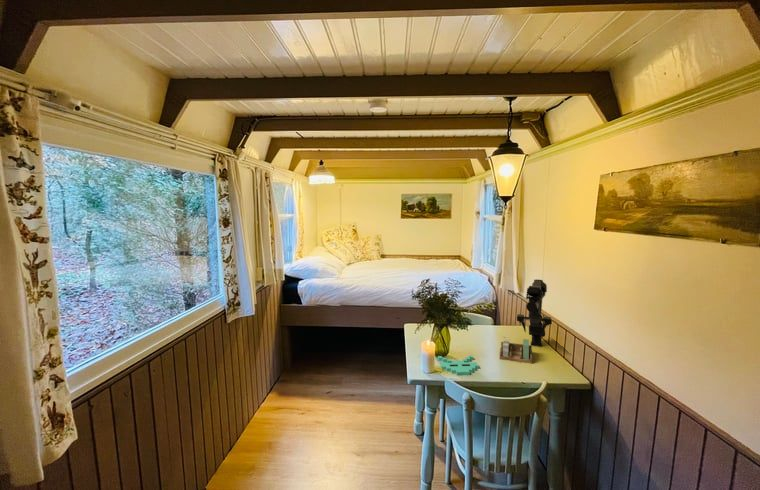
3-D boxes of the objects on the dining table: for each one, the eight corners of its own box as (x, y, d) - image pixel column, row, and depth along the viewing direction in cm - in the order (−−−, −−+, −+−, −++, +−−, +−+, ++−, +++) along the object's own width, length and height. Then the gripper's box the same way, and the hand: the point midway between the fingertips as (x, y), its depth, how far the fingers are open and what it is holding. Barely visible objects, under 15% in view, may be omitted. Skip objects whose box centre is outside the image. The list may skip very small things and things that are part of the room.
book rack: (501, 349, 206) (501, 337, 205) (531, 353, 199) (531, 340, 198) (499, 359, 193) (499, 345, 192) (531, 363, 186) (532, 349, 185)
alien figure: (437, 359, 195) (444, 376, 176) (437, 356, 195) (444, 372, 175) (472, 359, 195) (482, 375, 175) (472, 355, 195) (482, 371, 175)
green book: (523, 351, 198) (523, 338, 198) (528, 352, 197) (528, 339, 196) (522, 358, 189) (523, 345, 188) (528, 359, 188) (528, 345, 187)
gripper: (516, 309, 195) (516, 335, 196) (552, 312, 187) (552, 339, 189) (517, 304, 205) (516, 329, 206) (551, 307, 197) (550, 333, 199)
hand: (533, 333), depth 200 cm, fingers open, 9 cm apart
